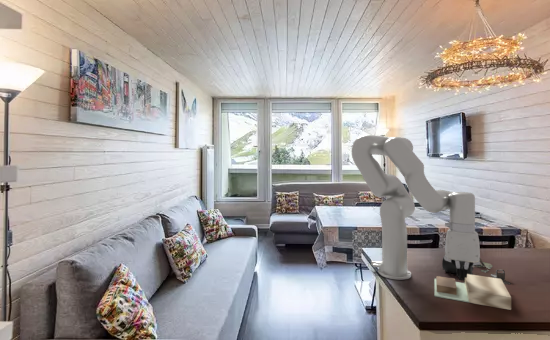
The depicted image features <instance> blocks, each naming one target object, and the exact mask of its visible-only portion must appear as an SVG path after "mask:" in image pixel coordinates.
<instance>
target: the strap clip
mask: <svg viewBox="0 0 550 340" xmlns="http://www.w3.org/2000/svg"><path fill="white" fill-rule="evenodd" d="M500 271H501V272H500ZM490 277H492V278H499V279H502V281H503V283H504V285H511V282H509V281H508V280H506V273H505V269H496V271H495V274H493V273H491V274H490Z"/></svg>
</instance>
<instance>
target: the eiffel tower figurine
mask: <svg viewBox="0 0 550 340" xmlns="http://www.w3.org/2000/svg"><path fill="white" fill-rule="evenodd" d="M472 267H473V268H485V267H486V268H485V269H480V272H483V273H488V272H489V271H490V270H491V269H492V268H493V264H491V263H488V262H484V261H483V260H482V258H480V265H472ZM487 268H488V269H490V270H488V269H487Z"/></svg>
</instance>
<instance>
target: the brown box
mask: <svg viewBox="0 0 550 340" xmlns="http://www.w3.org/2000/svg"><path fill="white" fill-rule="evenodd" d="M435 279H436V284H437V292H442V293H447V294H453V295H457V287H456V282H457V281H456V279H455V278H452V277H445V276H439V275H438V276H437V275H436V278H435Z"/></svg>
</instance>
